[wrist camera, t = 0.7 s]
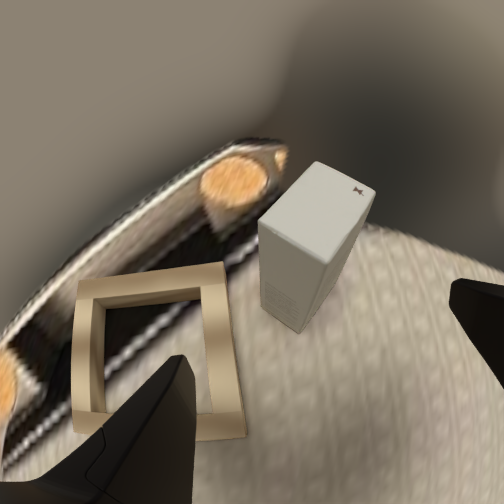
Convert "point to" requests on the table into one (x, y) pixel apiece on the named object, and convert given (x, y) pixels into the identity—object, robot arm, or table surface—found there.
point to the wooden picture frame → (148, 293)
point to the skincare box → (309, 242)
